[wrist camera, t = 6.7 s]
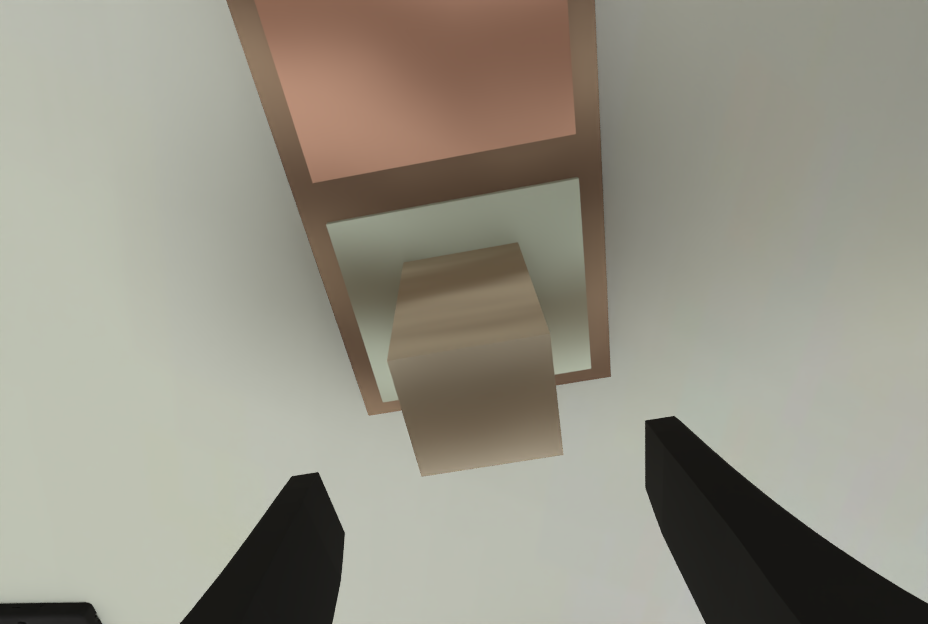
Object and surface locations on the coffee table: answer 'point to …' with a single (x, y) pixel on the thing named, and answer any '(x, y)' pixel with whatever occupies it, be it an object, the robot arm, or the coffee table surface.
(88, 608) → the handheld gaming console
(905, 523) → the coffee table surface
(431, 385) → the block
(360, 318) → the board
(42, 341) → the coffee table surface
